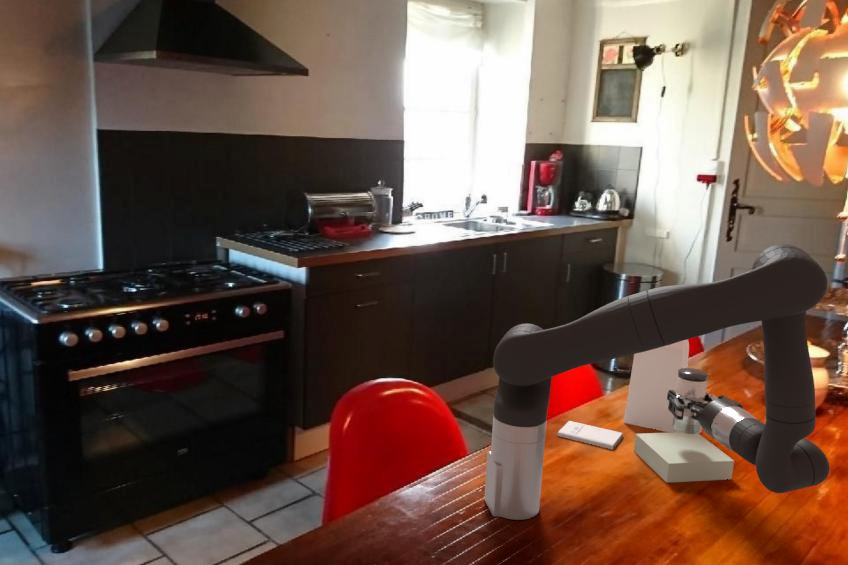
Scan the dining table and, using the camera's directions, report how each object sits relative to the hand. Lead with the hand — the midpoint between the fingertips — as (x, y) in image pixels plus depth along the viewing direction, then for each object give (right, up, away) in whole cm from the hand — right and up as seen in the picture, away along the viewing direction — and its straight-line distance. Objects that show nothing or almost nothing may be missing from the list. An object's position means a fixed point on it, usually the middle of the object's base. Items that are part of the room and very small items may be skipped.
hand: (683, 394), depth 146 cm
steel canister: (0, -7, -1) cm, 7 cm away
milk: (+2, -10, +24) cm, 26 cm away
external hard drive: (-16, -12, +13) cm, 24 cm away
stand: (0, -15, +1) cm, 15 cm away
